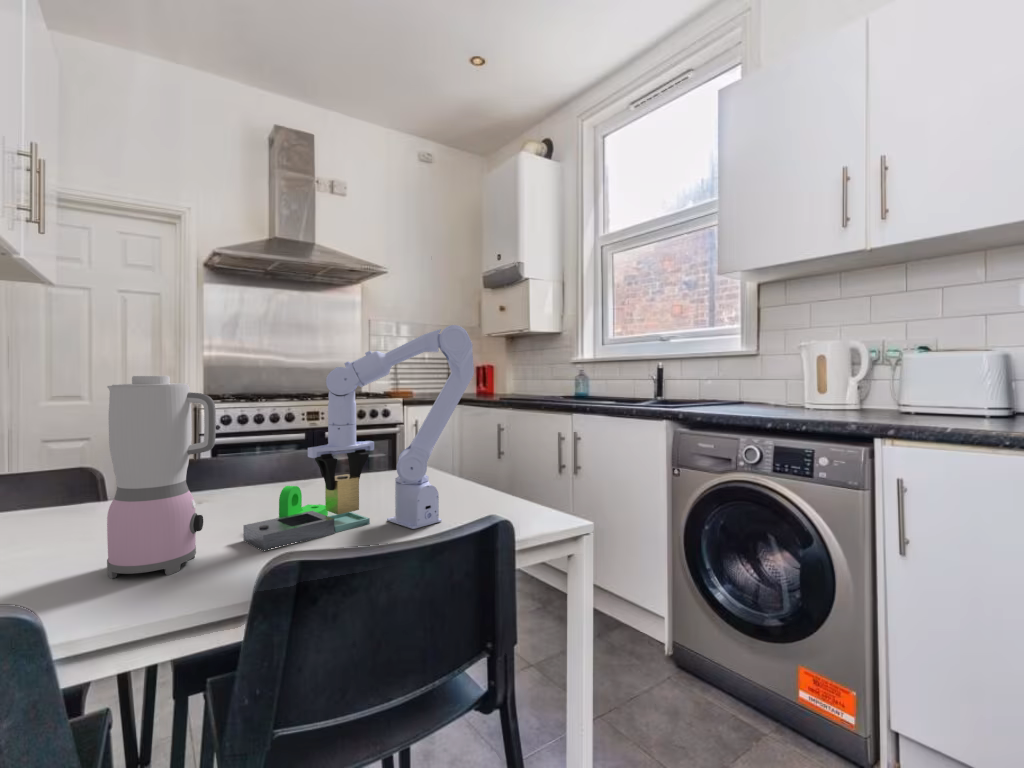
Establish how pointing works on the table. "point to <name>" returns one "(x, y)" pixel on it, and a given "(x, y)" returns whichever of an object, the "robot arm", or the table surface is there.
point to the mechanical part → (296, 503)
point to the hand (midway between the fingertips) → (342, 487)
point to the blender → (153, 474)
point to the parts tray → (348, 521)
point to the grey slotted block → (288, 530)
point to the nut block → (343, 495)
